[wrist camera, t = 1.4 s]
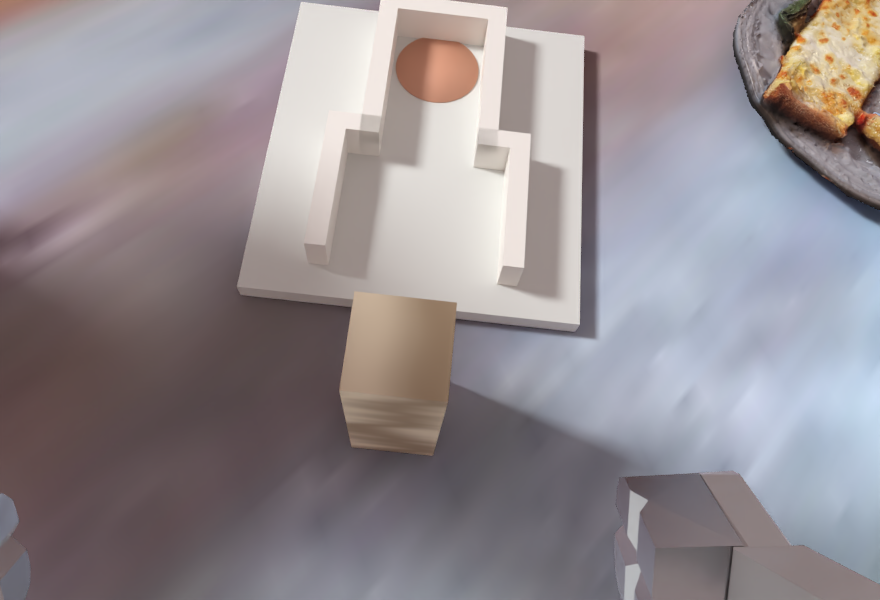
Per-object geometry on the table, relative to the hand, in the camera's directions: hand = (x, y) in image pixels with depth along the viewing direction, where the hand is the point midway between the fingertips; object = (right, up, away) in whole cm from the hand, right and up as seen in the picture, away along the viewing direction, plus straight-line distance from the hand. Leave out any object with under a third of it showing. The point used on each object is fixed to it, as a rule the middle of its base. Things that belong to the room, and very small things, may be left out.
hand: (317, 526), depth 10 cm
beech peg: (-1, -3, +31) cm, 31 cm away
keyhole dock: (+1, +12, +38) cm, 40 cm away
